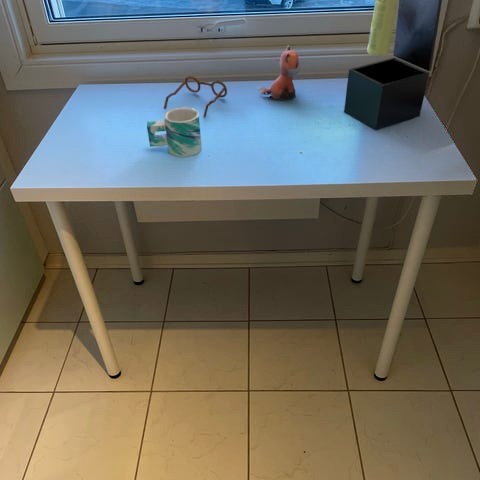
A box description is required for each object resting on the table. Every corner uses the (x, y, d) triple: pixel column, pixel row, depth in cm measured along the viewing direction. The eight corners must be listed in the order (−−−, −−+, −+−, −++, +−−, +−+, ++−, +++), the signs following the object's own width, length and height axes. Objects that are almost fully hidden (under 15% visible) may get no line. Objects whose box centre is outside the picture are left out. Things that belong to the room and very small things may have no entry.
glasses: (228, 99, 144) (227, 80, 141) (204, 118, 136) (203, 99, 133) (187, 91, 149) (185, 73, 145) (162, 109, 141) (160, 90, 137)
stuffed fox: (257, 91, 148) (256, 45, 139) (296, 89, 148) (298, 43, 139) (259, 102, 142) (259, 55, 134) (300, 100, 143) (302, 53, 134)
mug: (201, 156, 122) (198, 121, 116) (150, 159, 122) (144, 124, 116) (201, 139, 128) (198, 105, 122) (152, 142, 127) (146, 108, 121)
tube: (395, 51, 118) (413, -53, 105) (386, 58, 116) (404, -48, 102) (371, 47, 121) (386, -55, 107) (362, 54, 118) (377, -50, 104)
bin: (375, 130, 129) (382, 86, 121) (343, 112, 137) (348, 69, 129) (419, 116, 134) (429, 72, 126) (386, 99, 142) (394, 57, 134)
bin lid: (439, 0, 114) (456, -7, 116) (400, -13, 122) (416, -18, 123) (428, 71, 126) (444, 64, 127) (393, 56, 133) (408, 50, 135)
